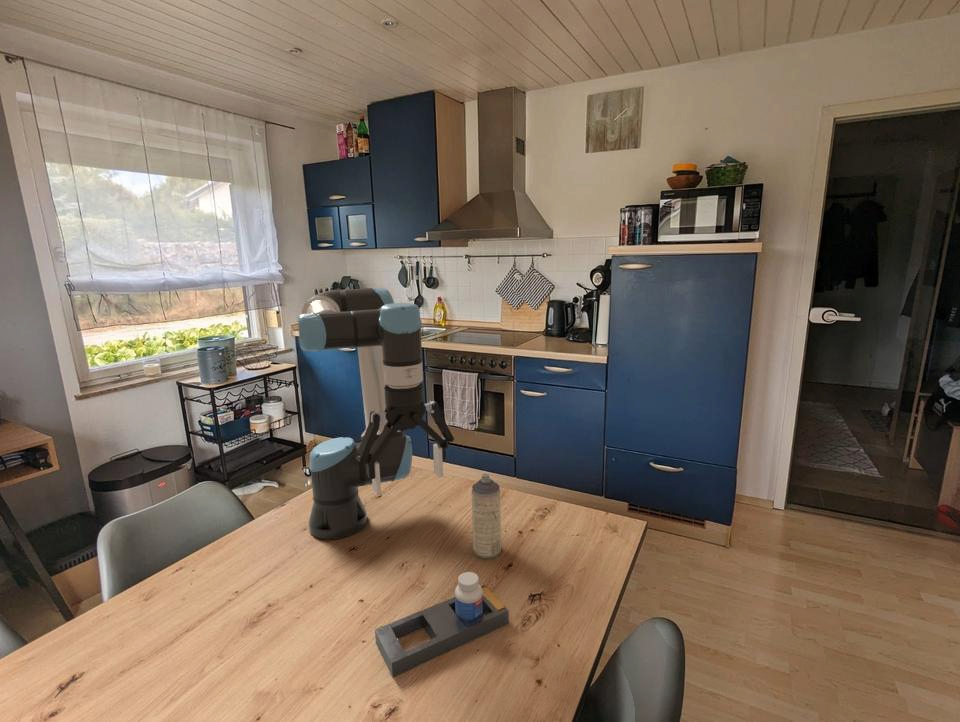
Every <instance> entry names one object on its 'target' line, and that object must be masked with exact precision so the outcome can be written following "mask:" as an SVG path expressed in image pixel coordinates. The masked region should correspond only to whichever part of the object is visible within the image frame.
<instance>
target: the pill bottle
mask: <svg viewBox="0 0 960 722" xmlns="http://www.w3.org/2000/svg"><path fill="white" fill-rule="evenodd" d="M457 579H458V580H457V581H458V582H457V586H456V587H455V590H454V597H455V611H456V615H457V616H458V618H459V619H460V620H461V622H462V623H463V624H464V625H465V624H467V623H469V622H472V621H474V620H476V619H478V618H481V617H483V616H484V613H483V594H482V588H481V586H482V585H480V581H479V579H480V578H479V576H478V574H477V573H476V572H472V571H465V572H463V573H461V574H459V576H458V578H457Z"/></svg>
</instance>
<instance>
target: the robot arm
mask: <svg viewBox="0 0 960 722" xmlns="http://www.w3.org/2000/svg"><path fill="white" fill-rule="evenodd" d="M419 307H420V306H418V305H417V304H416V303H410V302H396V303H395V302H394V298H393V296H392V294H391V293H390V291H389V290H388V289H386V288H378V287H377V288H374V287H367V288H353V289H352V288H350V289H331V290H326V291H323V292H321V293H318V294H316V295H313V296H312V297H310V298H309V299H308V300H307V301H306V302H305V303H304V305H303V307H302V310H301V314H299V316H298V317H297V326H298V327H297V328H298V336H299V346H300V349H301V350H302V351H305V352H322V351H329V350H340V349H352V348H357V355H358V364H359V373H360V383H361V384H360V385H361V391H362V401H363V402H362V403H363V410H364V411H363V412H364V420H365V422H364V423H365V430H364V431H363V432H362V434H361V436H360V437H361V442H355V441H354V439H353V437H352V438H351V437H348V436H347V437H344V436H341V437H334V438H331V439H328V440H325V441H322V442H320V443H319V444H318V445H316V446H314V447H313V449H311V451H310V452H309V471H310V475H311V488H312V489H311V490H312V498H313V504H312V507H311V511H310V515H309V519H308V528H309V533H310V534H311V536H313V537H315V538H317V539H321V540H340V539H344V538H348V537H350V536H353V535H354V534H357V533H359V532H360V531H361V530H362V529H364V528H365V526H366V525H367V523H368V517H367V516H368V515H367V510H366V507H365V506H364V504H363V502H362V499H361V497H360V495H359V487H364V486H365V487H366V486H370V485H372V491H373V492H374V493H375V495H377V496H380V495H382V487H381V484H382V483H387V482H394V481H398V480H403V479H405V478H407V477H408V476H409V475H410V473H411V470H412V463H413V446H412V439H411V437H410V436H409V435H407V434H405V431H407V430H414V429H416V427H417V426H419V427H420V428H421V429H422V430H423V431H424V432H425V433H426V434H427V435H428V436H429V437H431V439H433V441H435V442H436V443H434V444H432V449H433V450H432V452H433V455H432V456H433V473H434V474H435V475H436V476H437V477H438V478H439V479H441V478H444V468H443V467H444V465H443V463H444V462H443V461H445V460H446V458H447V450H446V449H447V448H448V447H449V443H453V442H454V441H455V437H454V436H453V434H452V431H451V429H449V428H450V427H448V425H447V423H446V421H445V419H444V417H443V416H442V414H441V412H440V405H439V403H438V402H437V401H434V400H433V399H430V400H428V402H426V403H424V401H425V397H424V396H425V395H424V394H425V393H424V384H423V383H422V382H423V380H424V376H423V375H424V374H423V371H424V370H423V352H422V351H423V349H422V324H423V323H422V319H421V311H420V308H419ZM426 412H427V413H429V414H430V415H431V417H432V419H433V421H434V422H435V424H436V426H437V428H438V430H439V432H440V433H441V434H442V436H440V435H439V434H438V433H437V431H435V430H434V429H433V428H432V427H431V426H430V425H429V423H427V422H426V421H425V420H424V419H423V417H424V416H425V413H426Z"/></svg>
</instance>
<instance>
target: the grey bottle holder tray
mask: <svg viewBox="0 0 960 722" xmlns="http://www.w3.org/2000/svg"><path fill="white" fill-rule="evenodd" d="M480 586H481V588H482V594H483V617H481V618H478V619H476V620H474V621H472V622H469V623H467V624H465V625H464V624H463V623H462V622H461V620H460V619H459V618H458V616H457V615H456V611H455V596H454V597H451V598H449V599H446V600H444V601H442V602H440V603H436V604H435V605H434V604H433V605H432V606H429V607H427V608H424V609H422V610H420V611H417V612H415V613H411V614H410V615H407V616H405V617H401V618H399V619H398V620H395V621H393V622H390V623H388V624H385V625H382V626H380V627H378V628H374V636H375V644H376V646H377V649H378V651H379V653H380V655H381V656H382V657H381V658H383V661H384V662H385V665H386V667H387V669H388V671H389V673H390V675H391V678H396V677H398V676H400V675H402V674H404V673H406V672H408V671H411V670H412V669H415V668H418V667H419V666H421V665H424V664H426V663H428V662H431V661H432V660H434V659H436V658H438V657H440V656H442V655H444V654H447V653H449V652H451V651H454V650H455V649H458V648H460V647H462V646H463V645H466V644H468V643H470V642H473V641H475V640H477V639H479V638H481V637H484V636H485V635H488V634H490V633H492V632H494V631H496V630H498V629H500V628H503V627H505V626H507V625H509V623H510V622H509V621H510V619H509V618H510V616H509V614H510V613H509V612H510V610H509V609H508V608H507V606H505V605H504V603H502V601H501V600H499V598H498V597H497V596H496V594H494V593H493V592H492V591H491V589H490V588H489V587H488V586H487V585H486V584H483V585H480ZM423 629H424V630H425V633H426V634H427V635H428V637H429V638H430V639H429V640H427V641H424V642H422V643H420V644H418V645H416V646H414V647H411V648H409V649H407V650H404V648H403V647H402V645H401V643H400V641H399V640H400V639H402V638H404V637H406V636H408V635H411V634H413V633H416V632H419V631H420V630H423Z"/></svg>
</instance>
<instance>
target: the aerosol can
mask: <svg viewBox="0 0 960 722" xmlns="http://www.w3.org/2000/svg"><path fill="white" fill-rule="evenodd" d="M471 488H472V489H471V514H472V515H471V516H472V519H471V520H472V547H473V549H472V551H473V554H474V555H475V556H476V557H477V558H479V559H481V560H493V559H495V558H498V557H499V556H500V554H501V552H502V520H501V519H502V516H501V515H502V513H501V510H502V509H501V506H502V505H501V490H500V489H501V488H500V485H499V484H498V482H496V481H494V480H493V479H491V477H490V474H489V473H483V474H482V476H481V478H480V479H479V480H477V482H476V483H474V484H472V487H471Z"/></svg>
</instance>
